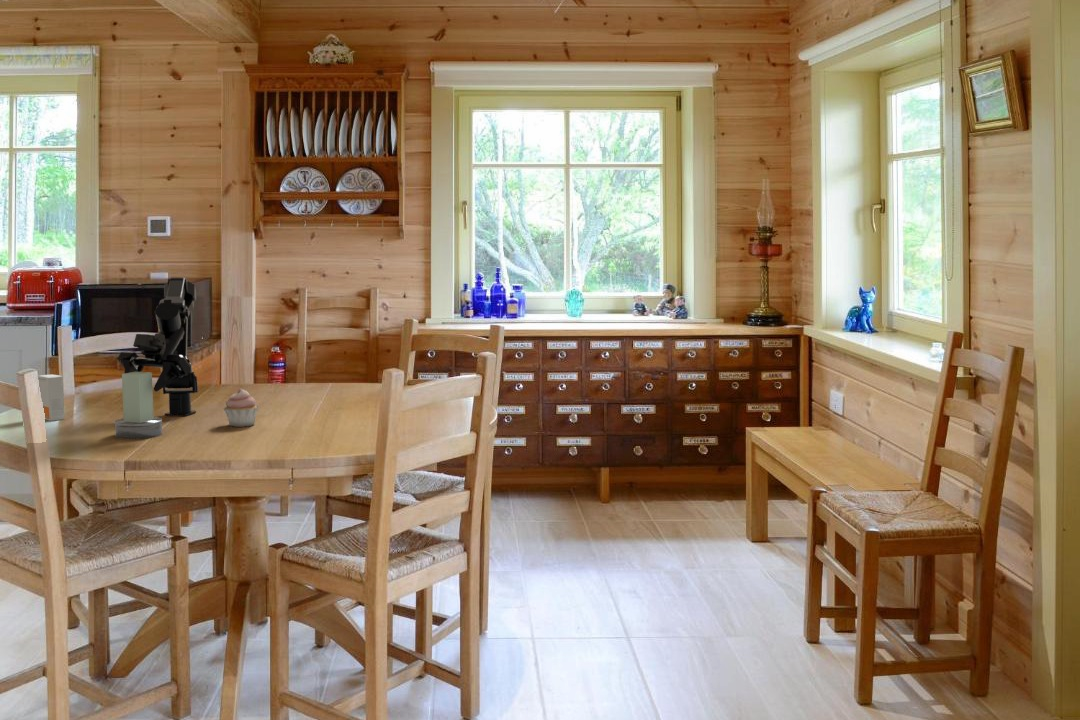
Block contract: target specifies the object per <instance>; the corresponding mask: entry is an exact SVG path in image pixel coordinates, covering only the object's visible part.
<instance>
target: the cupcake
mask: <svg viewBox="0 0 1080 720" xmlns="http://www.w3.org/2000/svg"><path fill="white" fill-rule="evenodd" d="M228 398H229V399H227V400H226V401H225V406H224V407H223V408H222V409H223V411H224V413H225V414H226V417H227V420H228V424H229V426H230V427H233V426H234V427H235V428H245V426H247V427H252V426H254V424H255V422H256V416H257V413H258V410H259V408H260V406H258V405H256V404H257V403H256V399H255V398H254V397H252V396H251V395H250V393H249V392H248V391H247V390H246V389H243V388H240V387H239V388H238V390H237V393H233V394H231V395H230V397H228ZM234 427H233V428H234Z"/></svg>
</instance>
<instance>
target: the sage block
mask: <svg viewBox="0 0 1080 720" xmlns="http://www.w3.org/2000/svg"><path fill="white" fill-rule="evenodd" d="M121 384H122V385H121V387H122V388H121V389H122V409H123V410H122V413H123V416H122V417H123V418H124V422H138V423H141V422H145V421H149V420H153V419H154V417H155V416H154V395H153V392H154V389H153V373H152V372H149V371H148V372H147V371H145V372H144V371H141V372H131V373H125V372H124V373H122V374H121Z"/></svg>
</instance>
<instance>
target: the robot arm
mask: <svg viewBox="0 0 1080 720" xmlns="http://www.w3.org/2000/svg"><path fill="white" fill-rule="evenodd" d="M163 288H164V289H163V291H164V292H163V294H164V295H163V297H164V298H162V299H161V300H160V301H159V303H158V305H157V306H156V308H155V310H154V313H153V314H154V319H155V320H156V322H157V328H158V329H159V330H158V332H157V333H155V334H145V333H136V334H135V336H134V337H135V338H134V341H133V345H132V346H133V347H134V348H138V349H140V353H141V354H142V356H144V357H140V356H139V355H138V354H137V353H136V352H135V351H121V352H120V353H119V354H118V357H117V358H116V359H117V361H118V362H119V363H120V364H121V365H122V366H123V368H124V374H125V373H131V372H143V370H144V368H145V367H153V368H162V371H161V372H160V373H159V374H160V375H159V376H158V379H156V382H155V385H154V387H153V392H155V393H157V392H158V391H160V390H162V392H163V393H162V394H163V395H167V394H168V408H169V409H168V410H169V411H168V412H164V416H174V417H176V416H179V417H186V416H190V415H192V414H195V413H197V410H192V398H191V396H192V395H191V394H195V393H198V392H199V385H198V377H197V376H196V373H195V371H193V367H192V364H191V362H190V360H189V358H188V330H189V329H188V327H189V326H188V325H189V321H188V320H189V316H190V314H191V313H192V311H193V310H194V309H195V307H194V306H195V305H194V304H195V302H196V301H197V289H196V285H195V284H194V283H192V282H191V281H188V278H186V277H183V276H182V277H181V276H180V277H170V278H167V282H166V283H165V284H164V286H163Z"/></svg>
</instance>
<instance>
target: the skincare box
mask: <svg viewBox="0 0 1080 720" xmlns="http://www.w3.org/2000/svg"><path fill="white" fill-rule="evenodd" d="M38 380H39V387H40V392H41V398H42V402H43V408H44V413H45V418H46V419H45V420H46V421H49V422H55V421H62V420H65V419H66V417H65V416H66V413H65V393H64V376H63V375H59V374H53V373H52V374H40V375H37V381H38ZM39 387H38V388H39Z"/></svg>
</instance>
